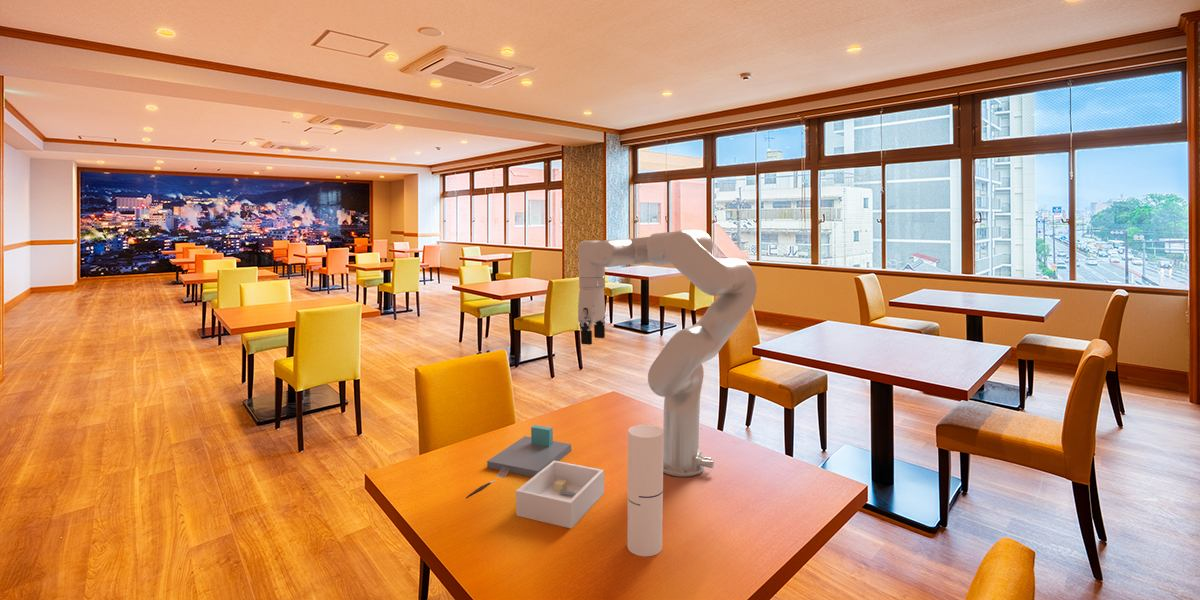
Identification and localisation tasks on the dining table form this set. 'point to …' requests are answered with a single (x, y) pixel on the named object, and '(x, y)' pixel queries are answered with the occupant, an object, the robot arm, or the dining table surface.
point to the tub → (560, 493)
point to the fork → (488, 483)
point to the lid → (530, 453)
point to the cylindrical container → (645, 489)
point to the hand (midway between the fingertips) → (593, 340)
